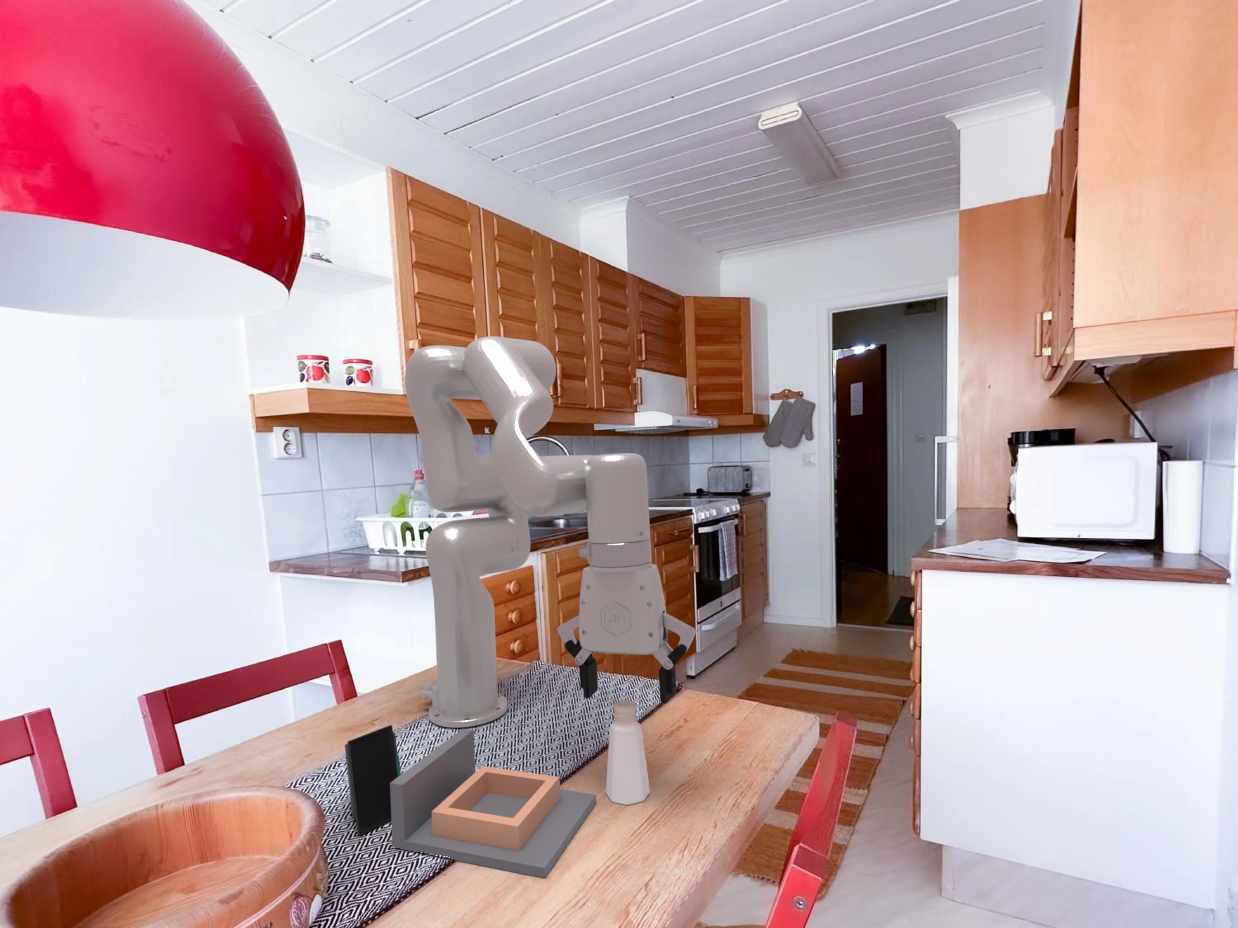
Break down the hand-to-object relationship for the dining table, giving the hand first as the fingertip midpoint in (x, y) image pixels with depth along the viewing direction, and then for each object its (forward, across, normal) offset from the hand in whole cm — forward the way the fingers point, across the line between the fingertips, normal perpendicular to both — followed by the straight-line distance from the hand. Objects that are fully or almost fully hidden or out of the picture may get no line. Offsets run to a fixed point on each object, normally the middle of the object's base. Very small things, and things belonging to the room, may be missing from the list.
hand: (628, 696), depth 77 cm
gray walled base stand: (+12, -13, -10) cm, 20 cm away
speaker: (+12, -29, -12) cm, 33 cm away
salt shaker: (+12, -1, 0) cm, 12 cm away
